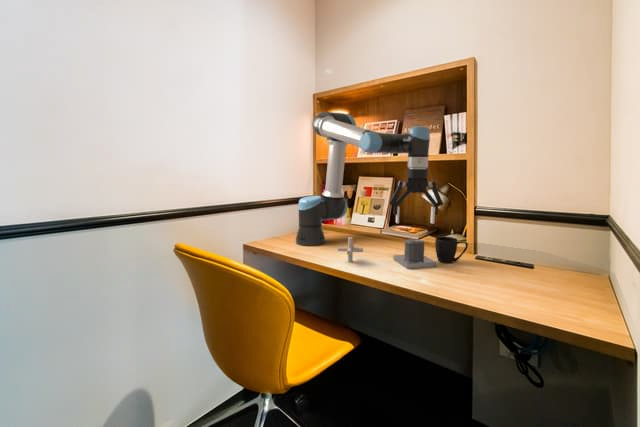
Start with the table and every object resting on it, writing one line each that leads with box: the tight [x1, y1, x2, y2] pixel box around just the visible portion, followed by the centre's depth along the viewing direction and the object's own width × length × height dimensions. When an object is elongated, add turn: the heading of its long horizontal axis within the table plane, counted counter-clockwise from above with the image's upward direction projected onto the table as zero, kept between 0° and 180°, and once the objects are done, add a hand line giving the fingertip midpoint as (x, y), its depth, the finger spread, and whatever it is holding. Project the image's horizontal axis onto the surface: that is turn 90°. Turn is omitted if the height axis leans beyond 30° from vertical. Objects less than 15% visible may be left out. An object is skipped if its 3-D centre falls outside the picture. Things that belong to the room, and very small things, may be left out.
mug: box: [434, 236, 469, 265], centre depth 127 cm, size 8×12×10 cm
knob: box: [403, 238, 425, 261], centre depth 126 cm, size 7×7×7 cm
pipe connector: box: [337, 236, 364, 263], centre depth 129 cm, size 10×10×10 cm
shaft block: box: [392, 254, 437, 270], centre depth 126 cm, size 12×12×8 cm
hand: (414, 223), depth 125 cm, fingers open, 13 cm apart
